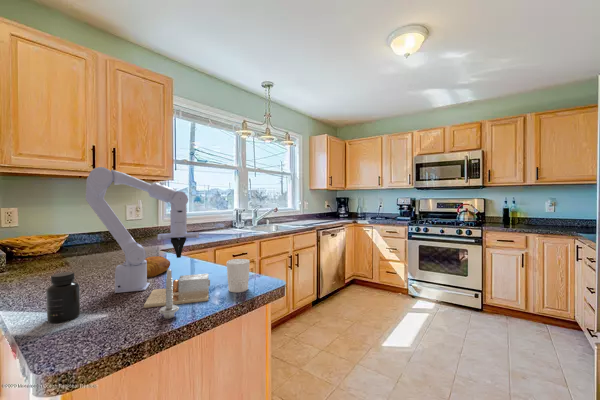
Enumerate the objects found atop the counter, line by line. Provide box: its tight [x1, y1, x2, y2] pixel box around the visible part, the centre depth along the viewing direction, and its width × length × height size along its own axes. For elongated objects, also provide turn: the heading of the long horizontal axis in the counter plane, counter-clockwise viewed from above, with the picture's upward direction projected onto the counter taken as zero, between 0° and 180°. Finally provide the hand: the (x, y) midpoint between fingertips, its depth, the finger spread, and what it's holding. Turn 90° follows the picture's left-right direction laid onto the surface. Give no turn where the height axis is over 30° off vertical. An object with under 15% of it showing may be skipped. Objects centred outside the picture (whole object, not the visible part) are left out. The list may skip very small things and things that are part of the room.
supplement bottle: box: [45, 271, 81, 324], centre depth 75 cm, size 7×7×12 cm
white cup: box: [226, 258, 251, 293], centre depth 98 cm, size 8×8×10 cm
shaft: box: [172, 279, 211, 293], centre depth 92 cm, size 11×4×4 cm, turn 108°
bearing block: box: [143, 273, 210, 309], centre depth 91 cm, size 18×14×6 cm
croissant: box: [145, 255, 171, 278], centre depth 121 cm, size 14×16×8 cm
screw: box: [159, 268, 180, 320], centre depth 75 cm, size 13×5×5 cm
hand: (178, 257), depth 107 cm, fingers closed
